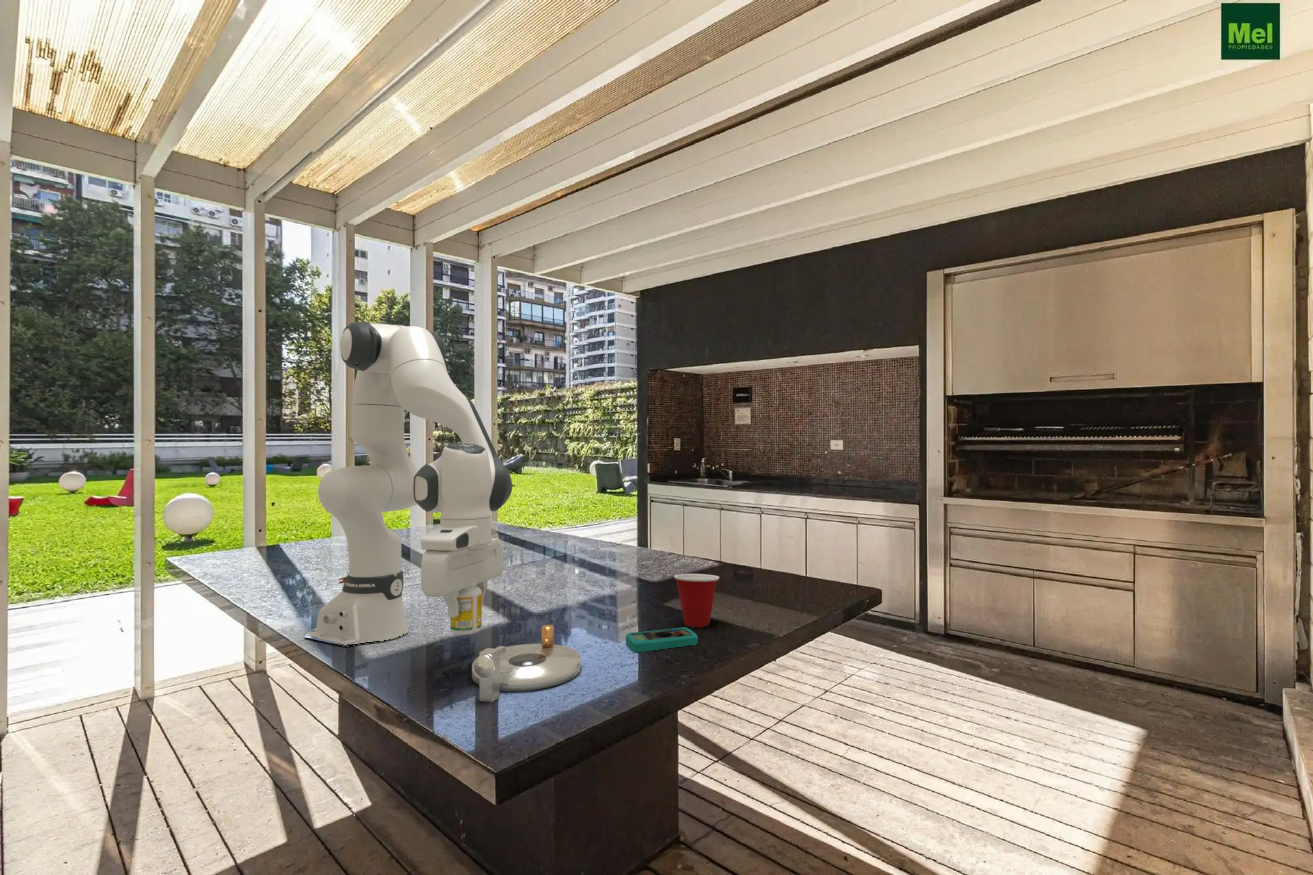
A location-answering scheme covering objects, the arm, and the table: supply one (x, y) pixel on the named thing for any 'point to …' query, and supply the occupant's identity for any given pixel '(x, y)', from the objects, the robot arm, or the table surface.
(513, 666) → the turntable
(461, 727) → the table surface
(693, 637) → the digital multimeter
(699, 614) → the plastic cup
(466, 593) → the supplement bottle
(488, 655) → the stand
